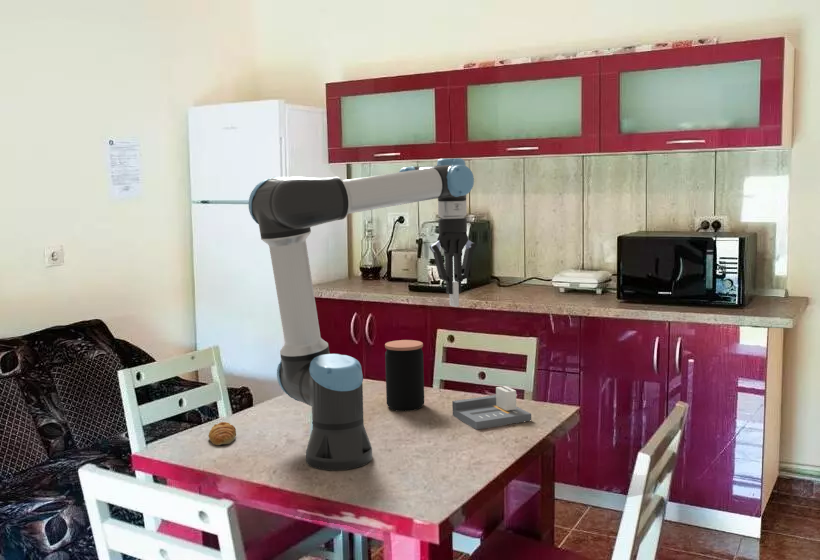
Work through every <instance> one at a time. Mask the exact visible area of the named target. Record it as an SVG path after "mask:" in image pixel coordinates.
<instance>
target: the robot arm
mask: <svg viewBox="0 0 820 560" xmlns="http://www.w3.org/2000/svg"><path fill="white" fill-rule="evenodd" d="M474 180H475V179H474V174H473V171H472V170H471V168H470V167H468V166H467V165H466V161H465V159H463V158H459V157H458V158H457V157H456V158H439V159H437V162H436V165H427V166H425V165H424V166H421V165H420V166H414V165H412V166H404V167H402V168H400V170H399V171H398V172H392V173H386V174H384V173H383V174H379V175H378V174H377V175H372V176H371V175H370V176H365V177H356V178H350V179H342V178H341V177H339V176H332V177H306V176H290V177H289V176H273V177H270V178H266V179H263V180H262V181H260V182H259V183H257V184H256V185H255V187H254V188H253V190H251V192H250V195H249V198H248V211H249V215H250V216H251V218H252V220H253V221H254V222H255V223H256V224H258V228H259V233H260V239H261V240H262V242H264V243H266V244H267V245H268V247H269V252H270V259H271V265H272V271H273V278H274V284H275V289H276V295H277V301H278V309H279V315H280V320H281V326H282V332H283V333H282V334H283V339H284V344H283V346H282V347H281V349H280V350H279V354H280V362H279V363H278V364H277V369H276V379H277V382H278V386H279V387H280V389H281V390H282V392H284V393H285V394H286V395H287V396H288V397H290V398H291V399H293V400H295V401H298V402H301V403H303V404H306V405H308V406H309V407H311V418H312V419H311V420H312V421H311V423H312V427H311V428H312V429H311V432H310V437H309V439H308V443H307V447H306V450H305V462H306V464H307V465H308V466H309V467H312V468H315V469H318V470H323V471H324V470H325V471H345V470H352V469H356V468H360V467H362V466H365V465H367V464H369V463H370V462H372V460H373V447H372V444H371V442H370V441H371V440H370V438H369V436H368V432H367V430H366V428H365V424H364V420H365V419H364V396H363V395H364V394H363V393H364V390H363V389H364V388H363V381H364V376H363V370H362V364H361V363H360V361H359V360H358V359H356V358H355V357H352V356H350V355H347V354H340V353H330V346H329V342H327V341H325V340H324V339H323V338H322V337H321V331H320V324H319V319H318V318H319V317H318V316H319V315H318V310H317V304H316V298H315V291H314V285H313V280H312V272H311V266H310V258H309V252H308V247H307V246H308V245H307V239H308V237H309V236H310V234H311V233H312V230H311V228H312V227H316V226H319V225H320V226H321V225H323V224H327V223H331V222H335V221H336V222H337V221H340V220H341V221H342V220H345V219H346V218H347V216H348V215H349V214H355V213H361V212H366V211H372V210H377V209H383V208H389V207H394V206H399V205H407V204H412V203H417V202H418V203H419V202H425V201H430V200H435V199H437V213H438V214H437V215H438V217H440V218H438V221H437V222H438V237H437V241H435V242H434V243H433V244H430V245H429V250H430V251H431V252H432V254H433V259H434V263H435V267H436V271H437V275H438V278H439V279H440V280H442V281H444V282H445V286H446V287H445V288H446V289H445V293H446V294H447V295H448V296H449V298H448V300H449V301H448V302H449V306H451V307H455V308H457V307H459V306H460V300H459V299H460V295H459V294H461V293H462V282H463V281H464V280H466V279H468V278H469V273H470V268H471V263H472V259H473V254H474V250H475V249H476V248H477V243H476V242H472V241H471V240H470V239H469V236H468V234H467V231H468V219H467V218H466V217H465V216H467V211H468V209H467V208H468V206H467V195H468V194H469V193H470V192H471V191H472V189H473V187H474V184H475V181H474ZM464 248H465V249H464ZM441 249H442V250H443V255H444V256H443V255H442V252H441ZM463 250H464V254H463ZM462 256H463V257H462ZM443 257H444V259H443ZM462 258H463V259H462Z"/></svg>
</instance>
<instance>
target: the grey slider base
mask: <svg viewBox="0 0 820 560" xmlns="http://www.w3.org/2000/svg"><path fill="white" fill-rule="evenodd" d="M452 416H453V417H454V418H456V419H458V420H459V421H461V422H463V423H464V424H466V425H468V426H470V427H471V428H473V429H475V430H476V431H477V430H482V429H483V430H484V429H489V428H496V427H502V425H503V426H507V425H506V424H510V425H512V424H511V423H516V424H520V423H519V422H523V423H525V422H524V421H529V422H531V421H532V413H531V412H528V411H526V410H524V409H522V408H520V407H519V406H516V409H515V410H508V411H506V410H504V409H502V408H500V407H498V406H496V394H495V395H487V396H480V397H474V398H473V397H472V398H465V399H456V400H452ZM530 420H531V421H530Z"/></svg>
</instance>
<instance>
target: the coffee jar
mask: <svg viewBox="0 0 820 560" xmlns="http://www.w3.org/2000/svg"><path fill="white" fill-rule="evenodd" d="M384 347H385V350H386V351H385V352H384V359H385V365H384V366H385V390H386V393H385V395H386V397H385V398H386V405H387V407H388V409H390V410H392V409H393V410H392V411H396V410H397V412H410V411H412V412H413V411H418V410H420V409H422V407H423V406H424V404H425V376H424V375H425V372H424V371H425V369H424V352H423V347H424V343H423V342H422V341H420V340H413V339H401V340H400V339H399V340H392V341H391V340H390V341H387V342H385V344H384Z"/></svg>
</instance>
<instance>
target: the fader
mask: <svg viewBox="0 0 820 560" xmlns="http://www.w3.org/2000/svg"><path fill="white" fill-rule="evenodd" d="M495 395H496V406H498V407H500V408H502V409H504V410H506V411H508V410H515V409H516V407H517V390H515V389H513V388H511V387H509V386H507V385H504V386H503V385H502V386H497V387H496V386H495Z"/></svg>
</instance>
